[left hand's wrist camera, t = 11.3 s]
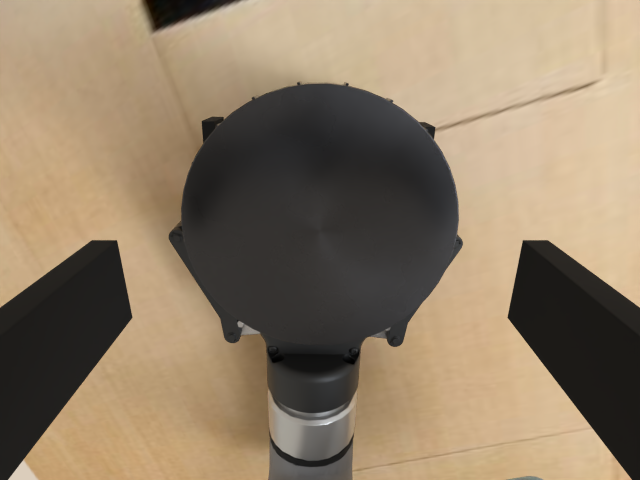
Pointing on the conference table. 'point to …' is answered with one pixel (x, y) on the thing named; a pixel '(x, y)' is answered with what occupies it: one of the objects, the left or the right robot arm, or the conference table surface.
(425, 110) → the conference table surface
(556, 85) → the conference table surface
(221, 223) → the lid
